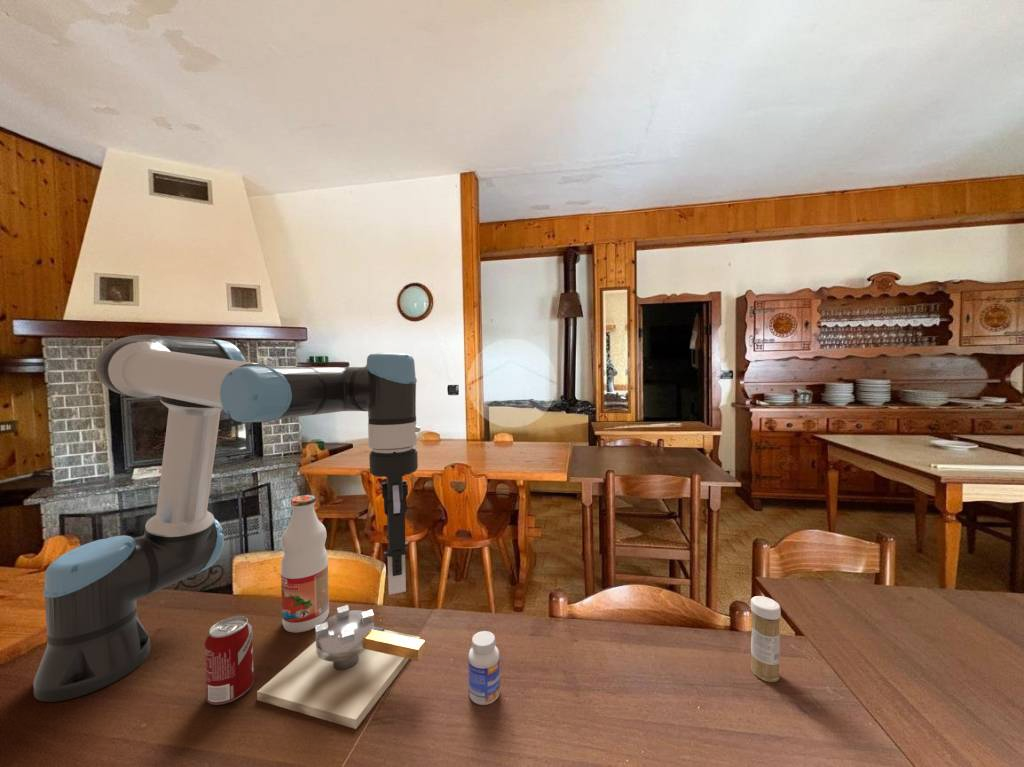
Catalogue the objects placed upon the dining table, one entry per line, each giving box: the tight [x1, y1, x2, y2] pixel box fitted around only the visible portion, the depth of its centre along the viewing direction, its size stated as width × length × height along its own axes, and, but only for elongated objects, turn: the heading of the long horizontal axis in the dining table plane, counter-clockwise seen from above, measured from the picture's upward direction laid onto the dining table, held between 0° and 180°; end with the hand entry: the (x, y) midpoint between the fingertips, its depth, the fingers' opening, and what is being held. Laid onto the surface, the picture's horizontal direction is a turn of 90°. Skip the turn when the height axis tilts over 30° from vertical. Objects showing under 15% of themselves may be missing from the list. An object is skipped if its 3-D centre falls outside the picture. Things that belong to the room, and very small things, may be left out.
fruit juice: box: [280, 494, 330, 633], centre depth 89 cm, size 9×9×28 cm
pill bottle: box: [467, 630, 501, 706], centre depth 68 cm, size 5×5×10 cm
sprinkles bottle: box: [750, 595, 782, 683], centre depth 72 cm, size 5×5×13 cm
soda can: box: [204, 615, 255, 706], centre depth 69 cm, size 7×7×12 cm
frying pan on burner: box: [314, 604, 426, 662], centre depth 72 cm, size 21×10×4 cm, turn 74°
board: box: [256, 625, 421, 730], centre depth 74 cm, size 20×20×5 cm
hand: (397, 590), depth 65 cm, fingers closed
